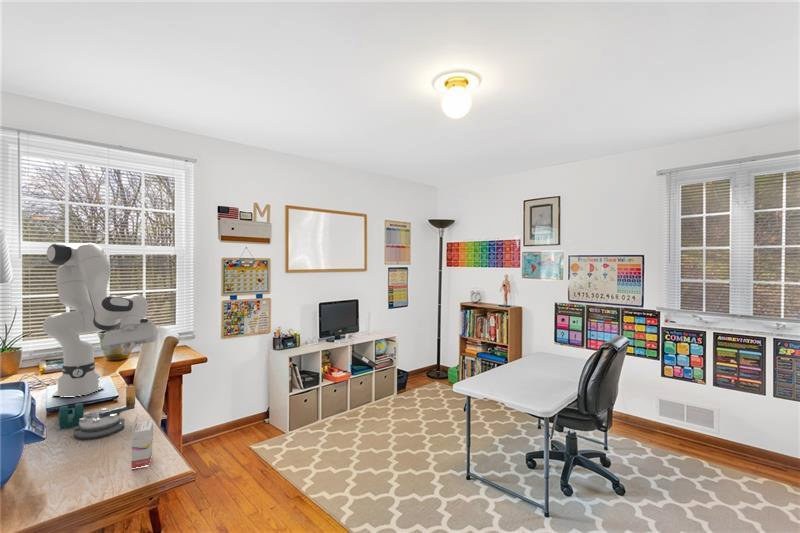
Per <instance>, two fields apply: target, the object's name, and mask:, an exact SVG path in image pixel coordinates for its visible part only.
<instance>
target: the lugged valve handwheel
mask: <svg viewBox="0 0 800 533" xmlns="http://www.w3.org/2000/svg"><path fill="white" fill-rule="evenodd" d="M125 391H126V392H125V405H121V406H119V407H114V408H109V409H108V408H107V407H106V408H100V410H99V411H97V412H88V411H87V412H85V413H84V414H83V417H82V418H81V419H79V430H80V431H83V432H94V431H100V430H104V429H108V428H111V427H113V426H115V425H117V424H118V423H119V422H120V418H121V413H123V412H126V411H130V410H134V409H135V408H136V407H135V405H136V385H128V386H126V387H125Z"/></svg>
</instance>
